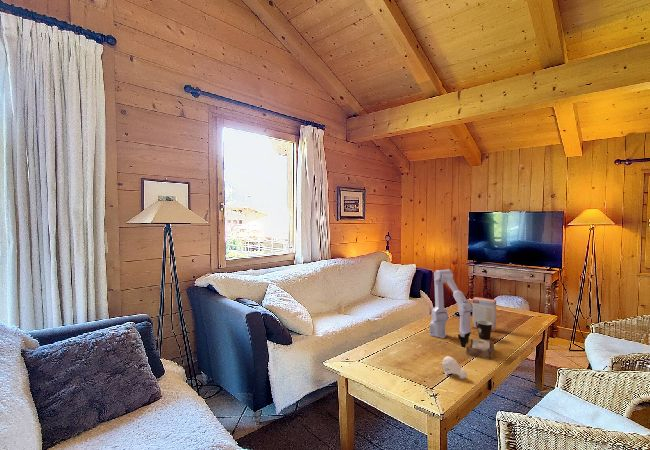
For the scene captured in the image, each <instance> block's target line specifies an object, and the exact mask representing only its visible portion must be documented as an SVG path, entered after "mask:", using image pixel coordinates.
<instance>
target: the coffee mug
mask: <svg viewBox="0 0 650 450" xmlns="http://www.w3.org/2000/svg"><path fill="white" fill-rule="evenodd" d="M477 324H478V326H477ZM476 326H477V328H476V329H477V331H478V338H479V339H481V340H485V341H490V340H491V334H492V331H491V328H492V323H491V322H488V321H477V322H476Z"/></svg>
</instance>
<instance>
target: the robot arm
mask: <svg viewBox="0 0 650 450" xmlns="http://www.w3.org/2000/svg"><path fill="white" fill-rule="evenodd" d="M433 281H434V284H433V285H434V302H435V303H434V307H433V308H432V309H431V314H430V315H431V316H430V319H431V321H430V323H429V336H430V337H436V338H442V339H445V338H446V337H447V336H448V333H446V323H447V321H448V320H449V314H448V309H447V308H445V300H444V299H445V297H444V284H445V283H446V284H447V285H448V287H449V289H451V291H452V293H453V294H452V296H453V298H454V300H455V302H456V304H457V309H458V314H459V332H460V334H459V333H458V335H457V337H458V339H459V343H460V347H461V348H464V349H465V348H467V344H468V343H469V338H470V335H471V334H472V333H473V330H472V329H471V312H473V303H472V302H470V301H469V300H468V299H467V298H466V297H465V294H464V293H463V291H462V290H459V288H458V286H457V284H456V282H455V280H454V274H453V272H452V270H451V269H448V268H447V269H440V270H439V269H436V270H435V271H434V272H433Z"/></svg>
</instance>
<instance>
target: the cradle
mask: <svg viewBox="0 0 650 450" xmlns="http://www.w3.org/2000/svg"><path fill="white" fill-rule="evenodd" d="M473 340H475V339H473V338H471V339H470V346H466V353H465V354H466V355H469V356H472V357H478V358H482V359H487V360H492V358H493V355H494V352H495V343H494V342H492V341H491V340H487V341H488V342H489V343H490V350H489V351H488V349H485V350H481V349H476V348H472V346H473Z"/></svg>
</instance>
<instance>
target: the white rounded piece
mask: <svg viewBox="0 0 650 450" xmlns="http://www.w3.org/2000/svg"><path fill="white" fill-rule="evenodd" d="M441 365H442V368H443V372H444V374H445V376H448V375H451V374H453V375H457V376H458V377H459V379H460V380H461V379H462V380H465V378H467V377H468V373H467V371H466V370H465V369H463V368H461V366H460V364H459V363H458V361H457V360H456V359H455V358H454V357H451V356H449V355H447V356H445V357H444V358H443V359H442V363H441Z"/></svg>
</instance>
